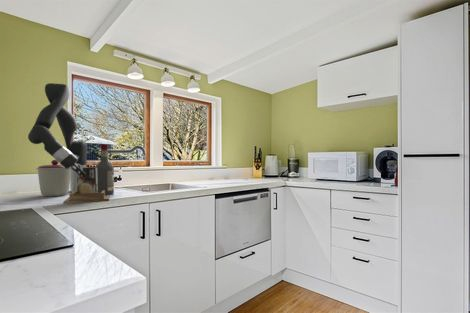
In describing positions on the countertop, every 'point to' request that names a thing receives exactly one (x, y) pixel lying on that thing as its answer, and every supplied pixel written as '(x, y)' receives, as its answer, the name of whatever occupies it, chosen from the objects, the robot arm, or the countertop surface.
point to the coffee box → (85, 185)
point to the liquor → (105, 172)
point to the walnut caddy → (87, 197)
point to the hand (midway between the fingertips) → (90, 179)
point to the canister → (54, 179)
